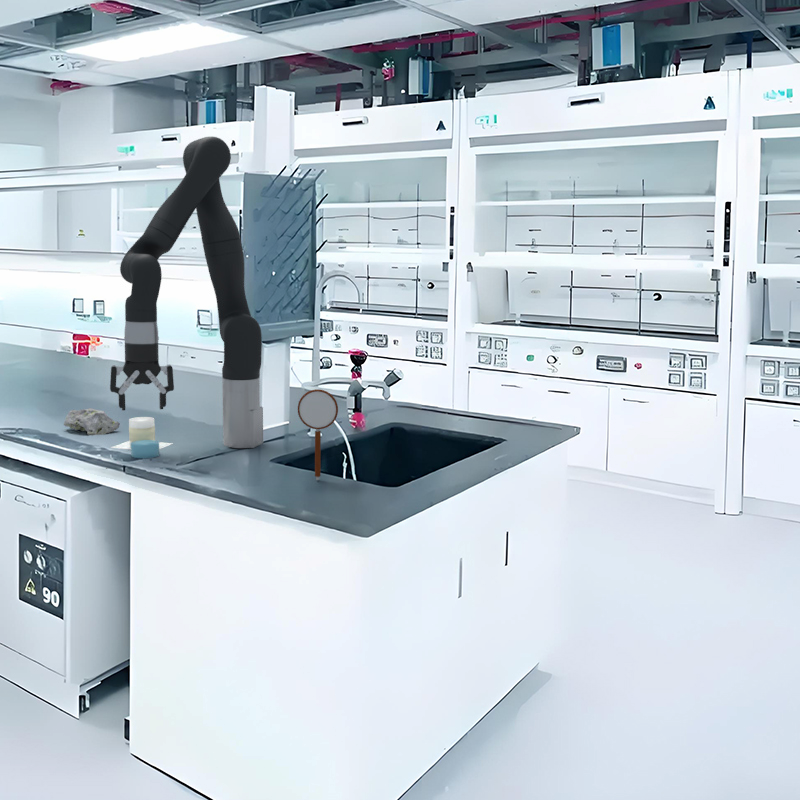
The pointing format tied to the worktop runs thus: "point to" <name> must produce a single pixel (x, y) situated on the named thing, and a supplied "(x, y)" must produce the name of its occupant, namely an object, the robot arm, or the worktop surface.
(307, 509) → the worktop surface
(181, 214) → the robot arm
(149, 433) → the jar
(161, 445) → the mat
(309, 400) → the magnifying glass
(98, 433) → the mineral specimen
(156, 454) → the cap
